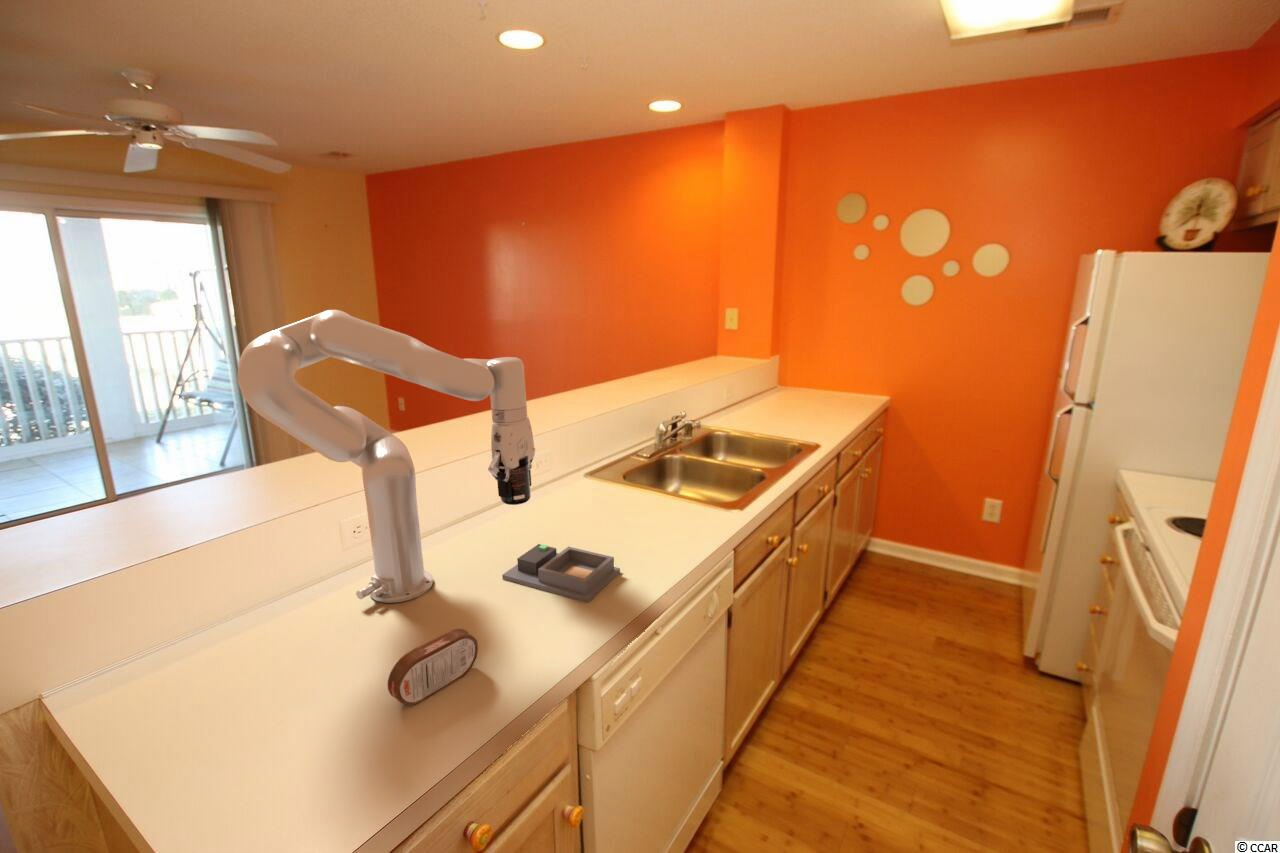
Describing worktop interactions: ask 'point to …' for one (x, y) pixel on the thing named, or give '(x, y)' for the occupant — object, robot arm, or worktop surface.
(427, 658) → the tin
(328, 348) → the robot arm
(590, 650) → the worktop surface
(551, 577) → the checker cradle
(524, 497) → the supplement container
